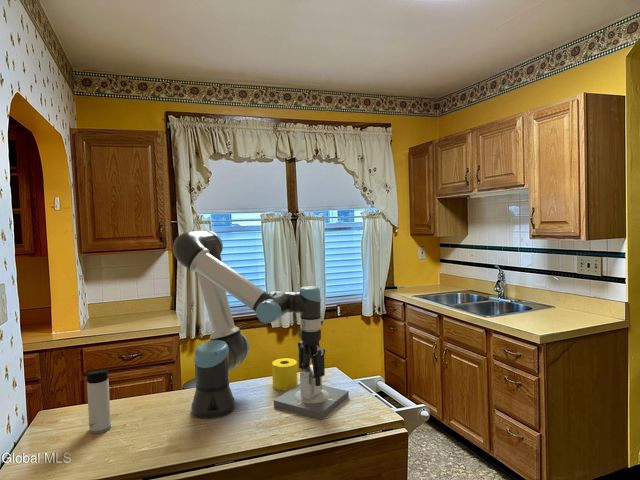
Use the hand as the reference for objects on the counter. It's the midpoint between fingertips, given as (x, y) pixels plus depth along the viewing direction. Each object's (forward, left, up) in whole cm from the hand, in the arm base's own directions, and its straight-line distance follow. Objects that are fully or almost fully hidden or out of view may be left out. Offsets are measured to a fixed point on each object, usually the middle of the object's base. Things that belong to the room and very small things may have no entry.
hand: (311, 391), depth 159 cm
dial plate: (0, 0, -4) cm, 4 cm away
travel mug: (-50, -51, -4) cm, 72 cm away
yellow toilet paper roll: (-18, +8, -4) cm, 20 cm away
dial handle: (0, 0, -1) cm, 1 cm away
